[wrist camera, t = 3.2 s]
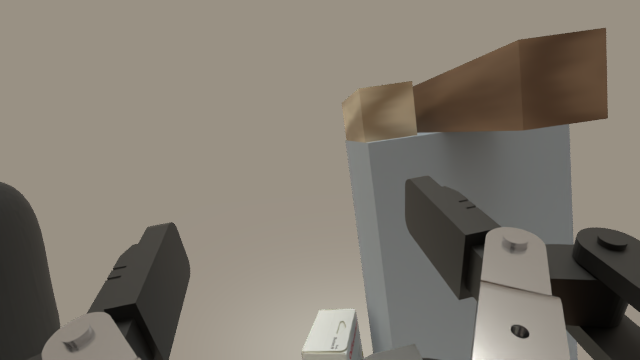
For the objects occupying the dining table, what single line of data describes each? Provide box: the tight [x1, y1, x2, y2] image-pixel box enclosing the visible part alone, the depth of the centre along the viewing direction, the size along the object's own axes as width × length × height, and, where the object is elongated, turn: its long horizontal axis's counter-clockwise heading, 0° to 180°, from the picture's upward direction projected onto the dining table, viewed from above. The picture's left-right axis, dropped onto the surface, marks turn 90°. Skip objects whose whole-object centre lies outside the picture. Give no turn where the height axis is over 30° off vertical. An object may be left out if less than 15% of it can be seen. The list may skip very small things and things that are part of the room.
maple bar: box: [342, 81, 417, 143], centre depth 30 cm, size 4×11×4 cm, turn 3°
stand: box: [346, 124, 578, 360], centre depth 33 cm, size 15×13×32 cm
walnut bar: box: [413, 28, 608, 133], centre depth 26 cm, size 4×22×4 cm, turn 3°
